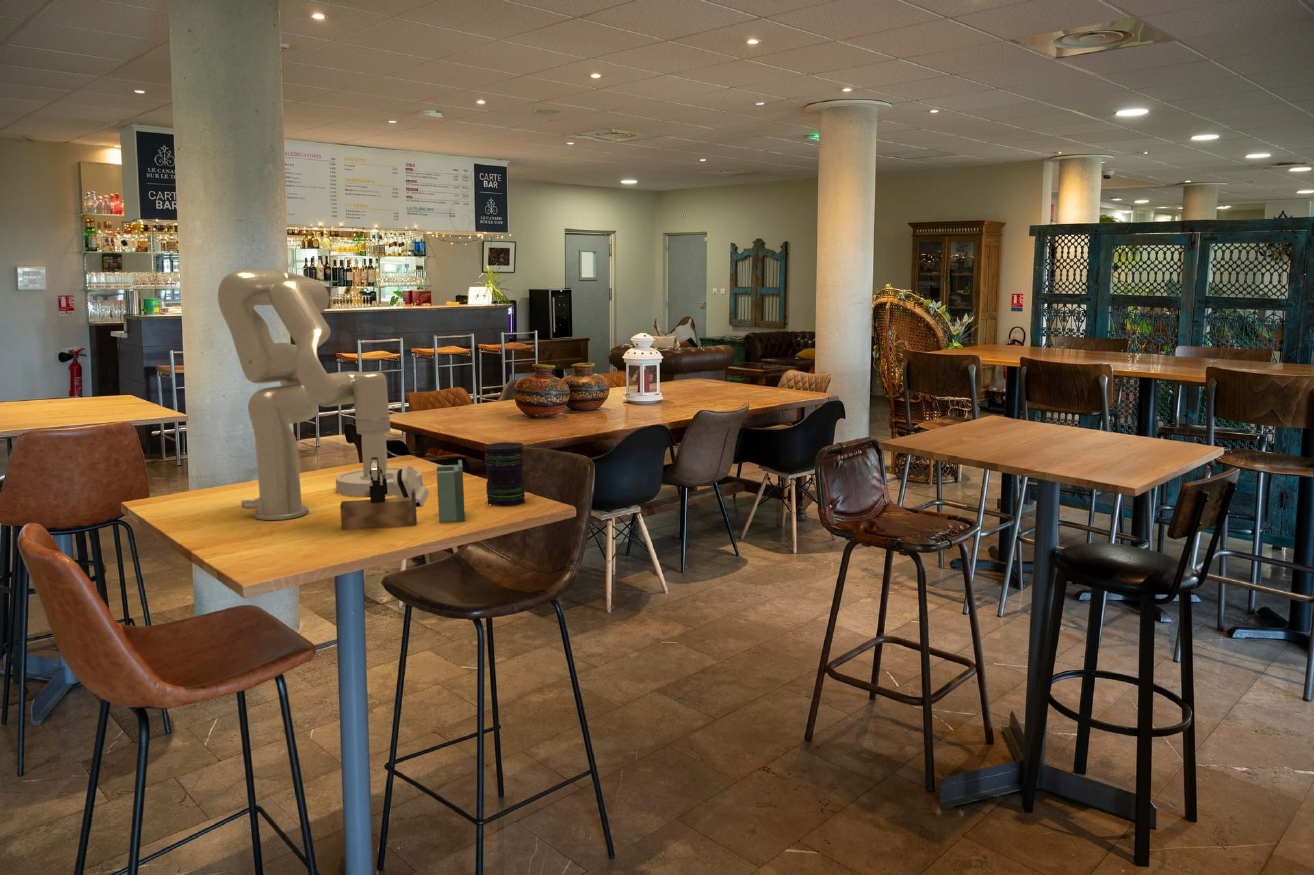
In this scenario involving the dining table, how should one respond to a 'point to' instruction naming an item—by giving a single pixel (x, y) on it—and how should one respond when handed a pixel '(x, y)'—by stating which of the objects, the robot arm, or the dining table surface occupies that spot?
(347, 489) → the ashtray
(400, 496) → the grey layered block
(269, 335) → the robot arm
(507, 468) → the storage jar
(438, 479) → the u-shaped channel piece
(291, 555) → the dining table surface
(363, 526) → the brown wooden block
